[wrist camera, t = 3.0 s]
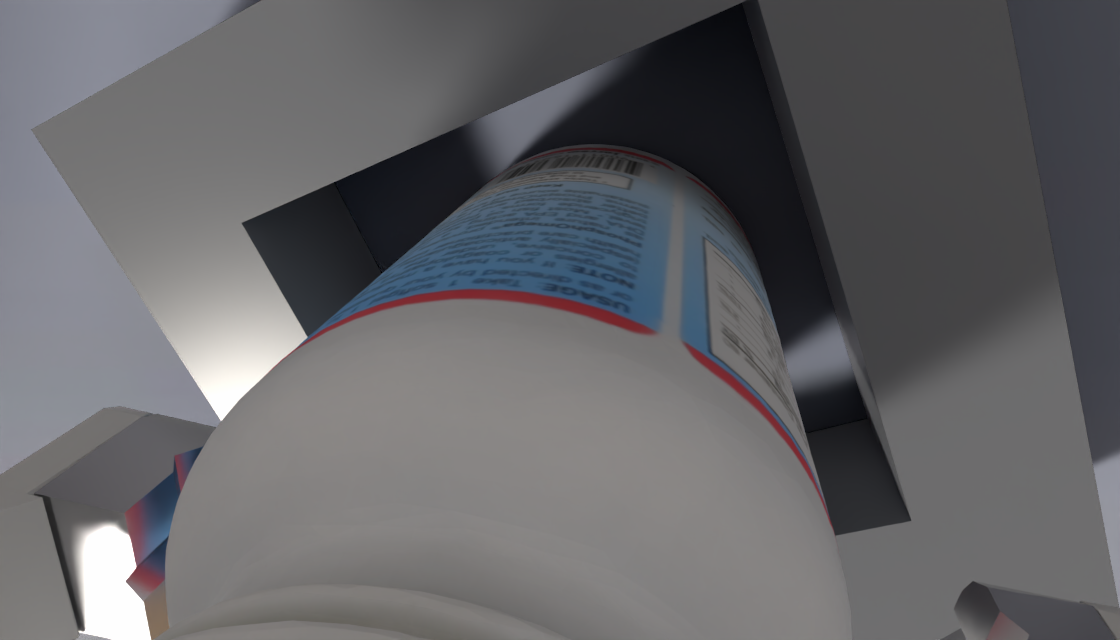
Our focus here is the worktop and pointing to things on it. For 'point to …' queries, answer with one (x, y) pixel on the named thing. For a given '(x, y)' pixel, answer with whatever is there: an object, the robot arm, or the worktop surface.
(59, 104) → the worktop surface
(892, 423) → the grey square bottle holder
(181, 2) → the worktop surface
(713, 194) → the pill bottle
